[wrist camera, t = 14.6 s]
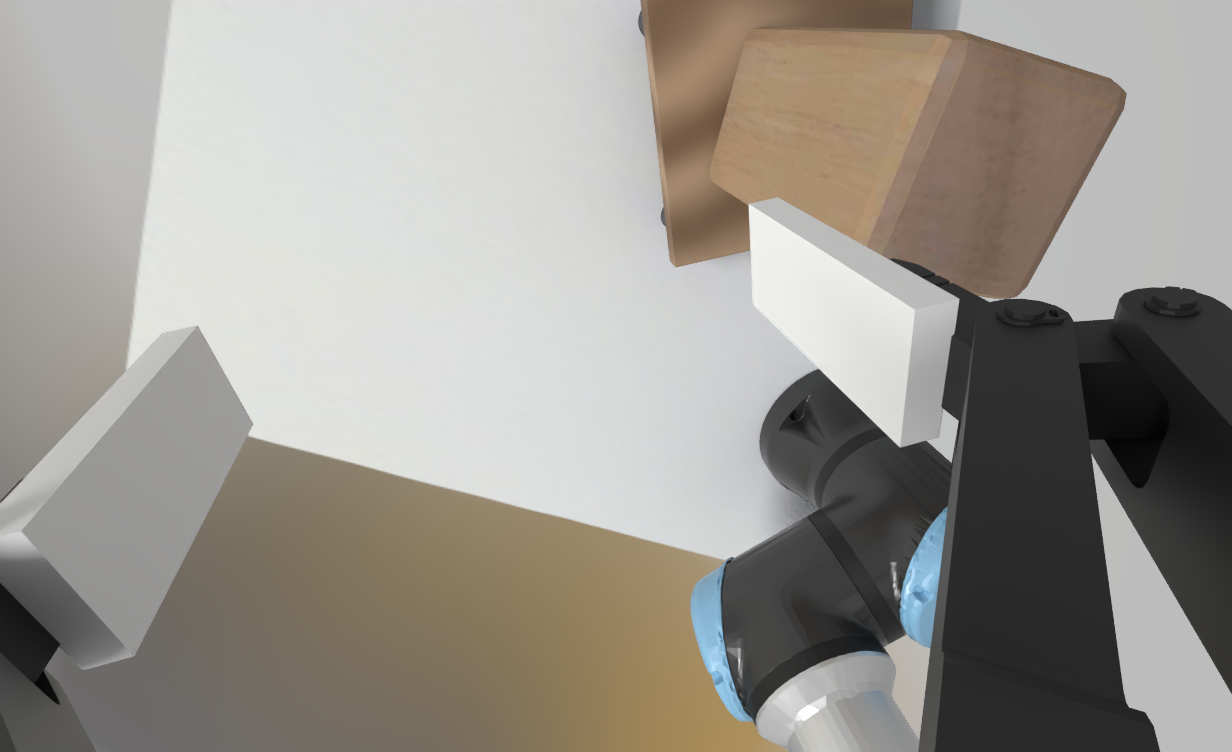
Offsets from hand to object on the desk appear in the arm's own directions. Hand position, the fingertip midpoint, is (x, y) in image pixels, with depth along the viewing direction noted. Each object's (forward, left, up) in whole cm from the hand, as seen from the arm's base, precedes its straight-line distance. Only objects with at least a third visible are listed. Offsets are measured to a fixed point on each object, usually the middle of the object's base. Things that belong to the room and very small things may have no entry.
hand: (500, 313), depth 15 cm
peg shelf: (-3, -21, -35) cm, 41 cm away
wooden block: (-3, -21, -29) cm, 36 cm away
